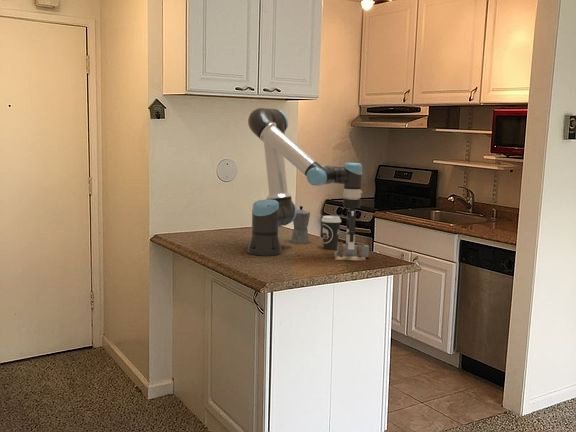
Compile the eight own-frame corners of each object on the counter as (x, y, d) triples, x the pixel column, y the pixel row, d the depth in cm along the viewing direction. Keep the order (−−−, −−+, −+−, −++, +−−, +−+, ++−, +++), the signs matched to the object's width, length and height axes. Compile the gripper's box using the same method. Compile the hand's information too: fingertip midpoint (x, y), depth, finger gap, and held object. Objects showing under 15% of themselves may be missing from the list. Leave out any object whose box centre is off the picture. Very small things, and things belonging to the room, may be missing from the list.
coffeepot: (314, 244, 303) (315, 207, 300) (297, 245, 299) (298, 208, 296) (300, 238, 317) (301, 203, 314) (284, 239, 313) (285, 204, 310)
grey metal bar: (336, 255, 271) (337, 245, 271) (336, 253, 276) (336, 244, 275) (368, 256, 271) (368, 247, 270) (367, 254, 275) (368, 245, 275)
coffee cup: (339, 250, 288) (340, 218, 286) (318, 249, 290) (319, 217, 288) (341, 246, 297) (342, 216, 295) (321, 245, 299) (322, 214, 297)
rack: (335, 259, 268) (335, 245, 267) (334, 254, 279) (334, 241, 278) (365, 260, 268) (366, 246, 267) (363, 255, 279) (364, 242, 278)
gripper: (363, 202, 257) (360, 252, 260) (358, 195, 282) (356, 241, 285) (345, 201, 258) (342, 251, 261) (342, 195, 282) (340, 240, 285)
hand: (350, 246), depth 273 cm, fingers open, 13 cm apart
